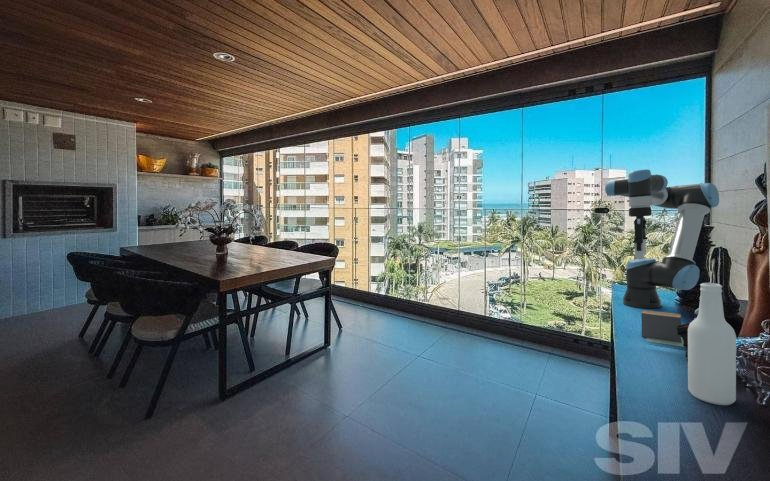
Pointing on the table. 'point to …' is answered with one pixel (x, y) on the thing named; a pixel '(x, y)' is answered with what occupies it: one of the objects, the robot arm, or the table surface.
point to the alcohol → (712, 350)
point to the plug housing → (660, 325)
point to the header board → (666, 342)
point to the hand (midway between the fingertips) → (640, 256)
